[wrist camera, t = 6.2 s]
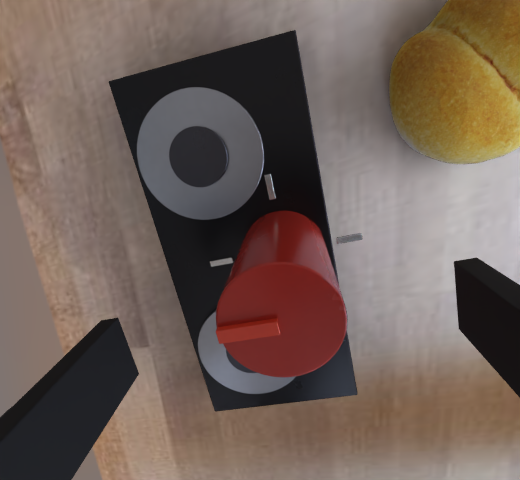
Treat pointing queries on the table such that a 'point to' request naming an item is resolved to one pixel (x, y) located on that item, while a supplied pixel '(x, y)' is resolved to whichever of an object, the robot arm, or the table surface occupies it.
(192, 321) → the hob
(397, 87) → the bread roll
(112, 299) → the table surface
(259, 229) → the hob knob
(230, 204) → the burner rings
